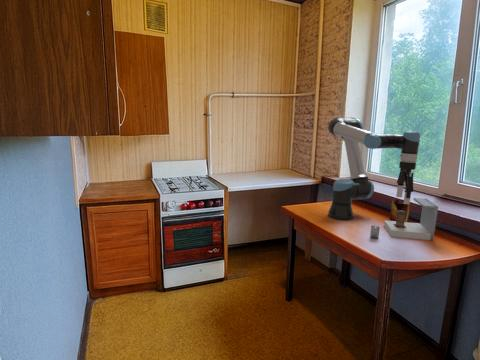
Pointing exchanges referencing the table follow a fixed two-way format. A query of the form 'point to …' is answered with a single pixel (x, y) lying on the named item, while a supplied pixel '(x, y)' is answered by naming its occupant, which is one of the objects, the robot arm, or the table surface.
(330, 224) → the table surface
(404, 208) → the mug
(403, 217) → the walnut dowel
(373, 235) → the cylinder
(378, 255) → the table surface
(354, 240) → the table surface
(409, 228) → the socket block
